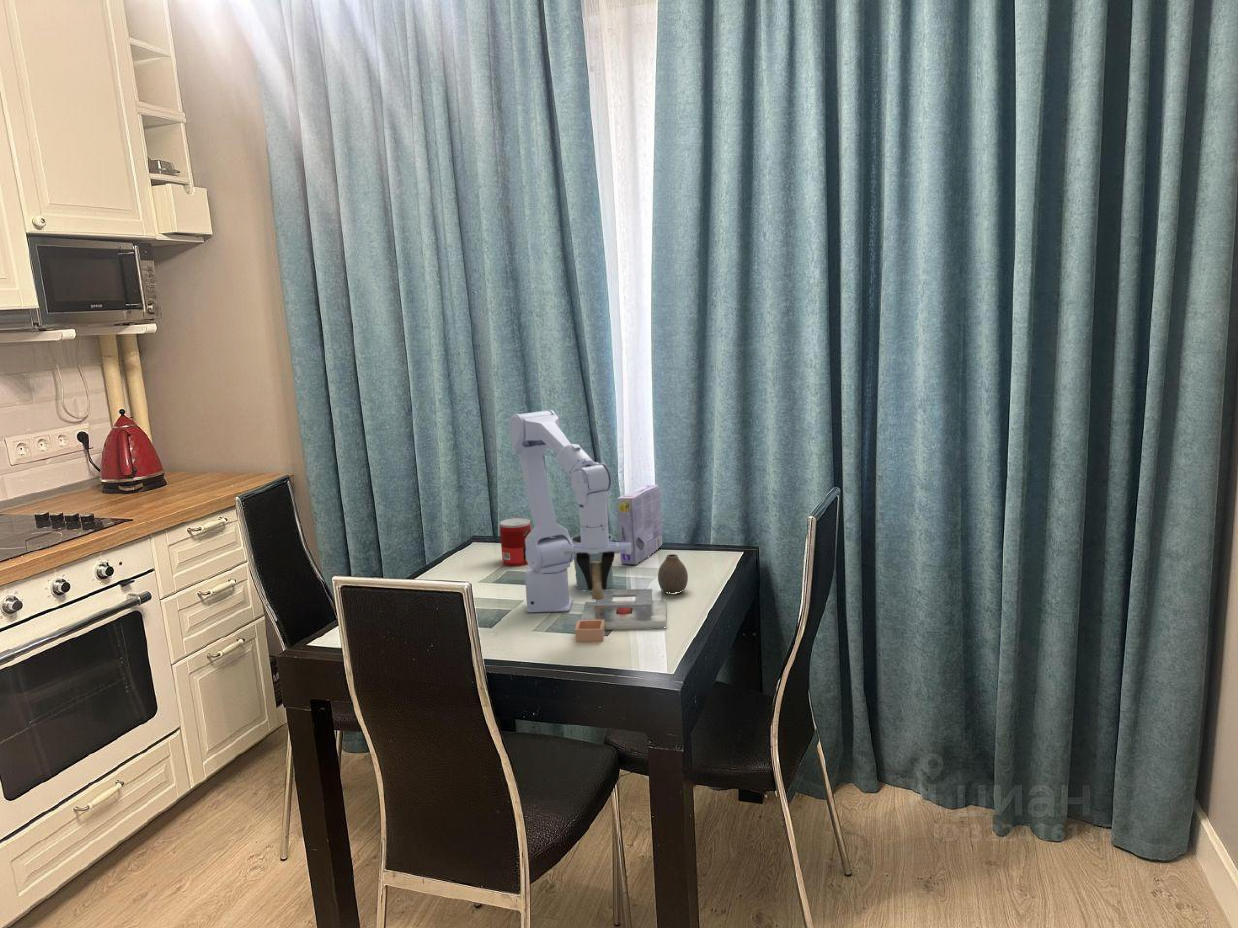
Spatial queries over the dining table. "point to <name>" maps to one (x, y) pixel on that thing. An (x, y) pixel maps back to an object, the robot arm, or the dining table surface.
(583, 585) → the green cylindrical pot
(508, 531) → the canned food
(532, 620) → the dining table surface
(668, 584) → the vase
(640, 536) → the cake pan box
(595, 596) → the stylus
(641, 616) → the grey fixture board
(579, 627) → the holder
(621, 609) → the button
